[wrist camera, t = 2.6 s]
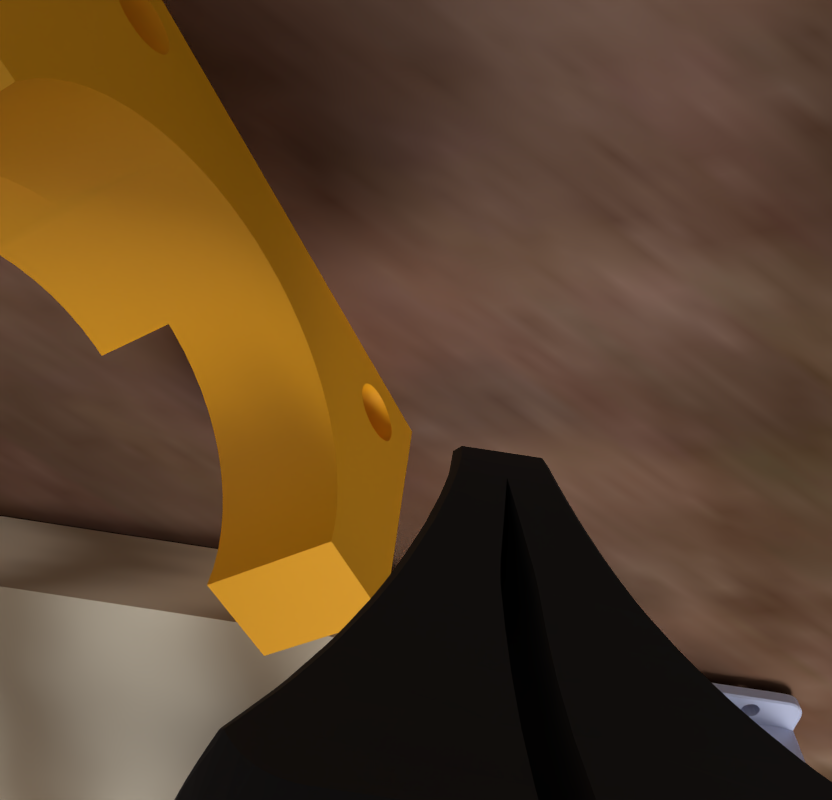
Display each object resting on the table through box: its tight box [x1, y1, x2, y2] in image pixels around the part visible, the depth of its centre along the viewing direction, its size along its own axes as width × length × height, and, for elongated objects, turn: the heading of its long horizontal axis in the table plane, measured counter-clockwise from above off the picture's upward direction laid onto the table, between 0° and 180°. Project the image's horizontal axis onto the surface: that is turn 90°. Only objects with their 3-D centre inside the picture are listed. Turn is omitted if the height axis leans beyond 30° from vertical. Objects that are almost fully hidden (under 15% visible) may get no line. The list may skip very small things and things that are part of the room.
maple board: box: [0, 516, 338, 800], centre depth 23 cm, size 24×10×3 cm, turn 83°
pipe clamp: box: [0, 0, 412, 656], centre depth 15 cm, size 12×4×6 cm, turn 27°
